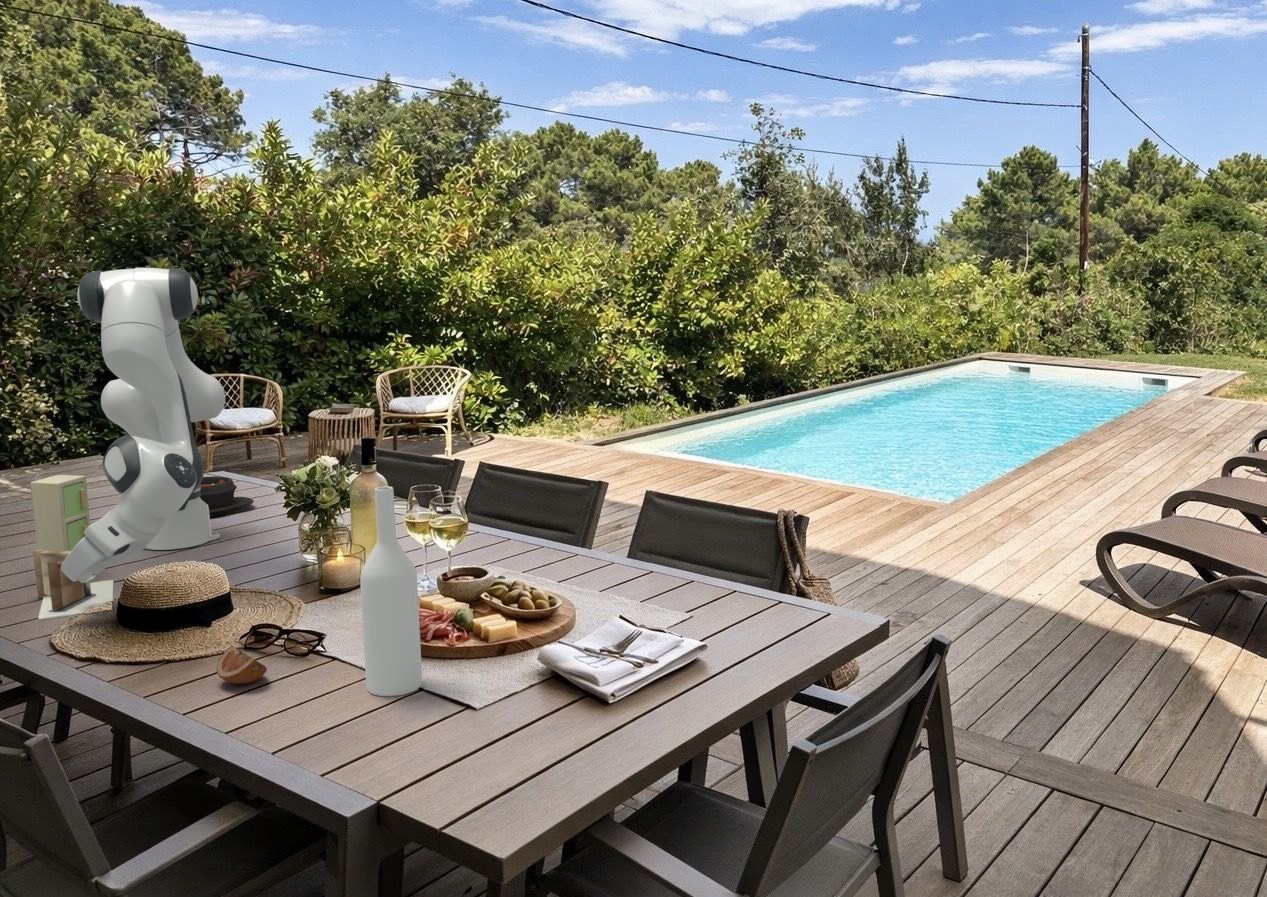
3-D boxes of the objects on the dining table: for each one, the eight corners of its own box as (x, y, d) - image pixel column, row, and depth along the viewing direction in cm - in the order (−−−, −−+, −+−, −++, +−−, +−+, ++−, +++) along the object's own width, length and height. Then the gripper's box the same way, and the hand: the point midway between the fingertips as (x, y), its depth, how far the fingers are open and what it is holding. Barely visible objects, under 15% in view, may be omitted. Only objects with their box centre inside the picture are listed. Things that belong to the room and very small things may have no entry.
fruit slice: (276, 684, 156) (274, 653, 155) (232, 697, 152) (229, 664, 151) (253, 670, 162) (251, 639, 161) (210, 681, 158) (207, 650, 157)
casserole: (244, 500, 288) (242, 471, 287) (262, 512, 273) (259, 481, 271) (146, 512, 275) (143, 481, 273) (158, 526, 259) (155, 493, 258)
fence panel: (77, 596, 199) (72, 551, 198) (86, 596, 199) (81, 551, 197) (49, 609, 191) (44, 563, 190) (59, 609, 191) (54, 563, 189)
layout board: (45, 589, 206) (45, 587, 206) (113, 581, 211) (113, 579, 211) (38, 620, 187) (38, 618, 187) (112, 610, 193) (112, 608, 193)
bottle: (371, 700, 149) (359, 495, 145) (362, 681, 157) (350, 485, 152) (427, 691, 153) (418, 490, 148) (416, 672, 160) (406, 480, 155)
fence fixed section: (93, 596, 201) (88, 548, 200) (88, 599, 200) (83, 551, 198) (41, 595, 202) (36, 548, 201) (35, 598, 200) (30, 550, 199)
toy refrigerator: (71, 585, 209) (60, 482, 205) (39, 584, 210) (28, 481, 207) (99, 574, 216) (89, 475, 213) (68, 573, 218) (58, 474, 214)
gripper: (148, 503, 201) (105, 552, 203) (81, 528, 180) (35, 582, 183) (172, 526, 201) (129, 574, 203) (108, 554, 181) (61, 607, 183)
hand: (84, 578), depth 193 cm, fingers closed
